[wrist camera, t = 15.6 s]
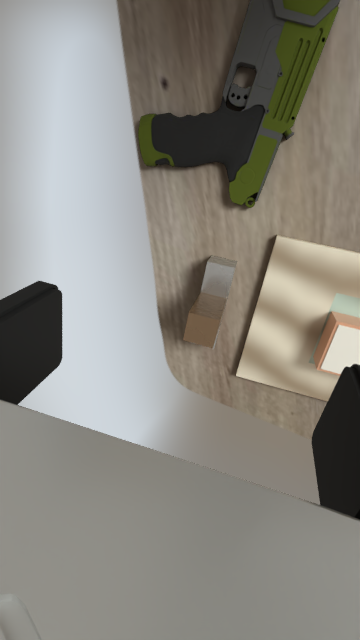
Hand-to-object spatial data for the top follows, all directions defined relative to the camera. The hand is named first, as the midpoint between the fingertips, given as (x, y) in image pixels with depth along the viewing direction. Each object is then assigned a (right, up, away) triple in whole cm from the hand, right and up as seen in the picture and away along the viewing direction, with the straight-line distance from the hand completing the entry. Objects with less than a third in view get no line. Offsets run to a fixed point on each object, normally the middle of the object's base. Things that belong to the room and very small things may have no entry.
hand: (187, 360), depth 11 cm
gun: (+5, +24, +22) cm, 33 cm away
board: (+15, +1, +28) cm, 32 cm away
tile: (+19, -1, +27) cm, 33 cm away
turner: (+4, +4, +30) cm, 30 cm away
